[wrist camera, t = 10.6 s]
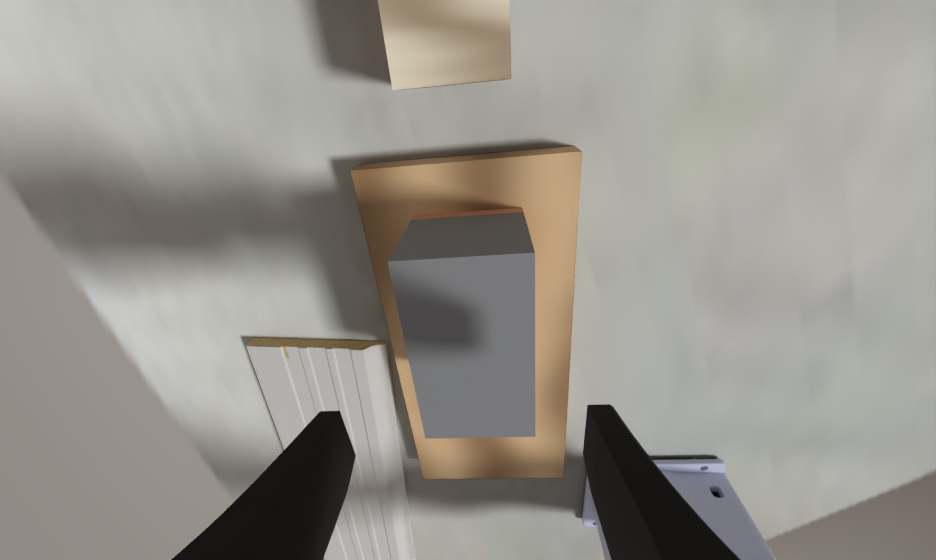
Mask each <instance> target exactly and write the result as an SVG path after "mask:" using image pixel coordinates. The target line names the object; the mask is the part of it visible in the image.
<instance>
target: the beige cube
mask: <svg viewBox="0 0 936 560" xmlns="http://www.w3.org/2000/svg"><path fill="white" fill-rule="evenodd" d="M378 5H379V11H380V18H381V24H382V30H383V36H384V42H385V48H386V54H387V60H388V66H389V72H390V78H391V84H392V90H404V89H417V88H426V87H436V86H446V85H456V84H466V83H476V82H486V81H496V80H506V79H511V45H510V8H509V0H378Z"/></svg>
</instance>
